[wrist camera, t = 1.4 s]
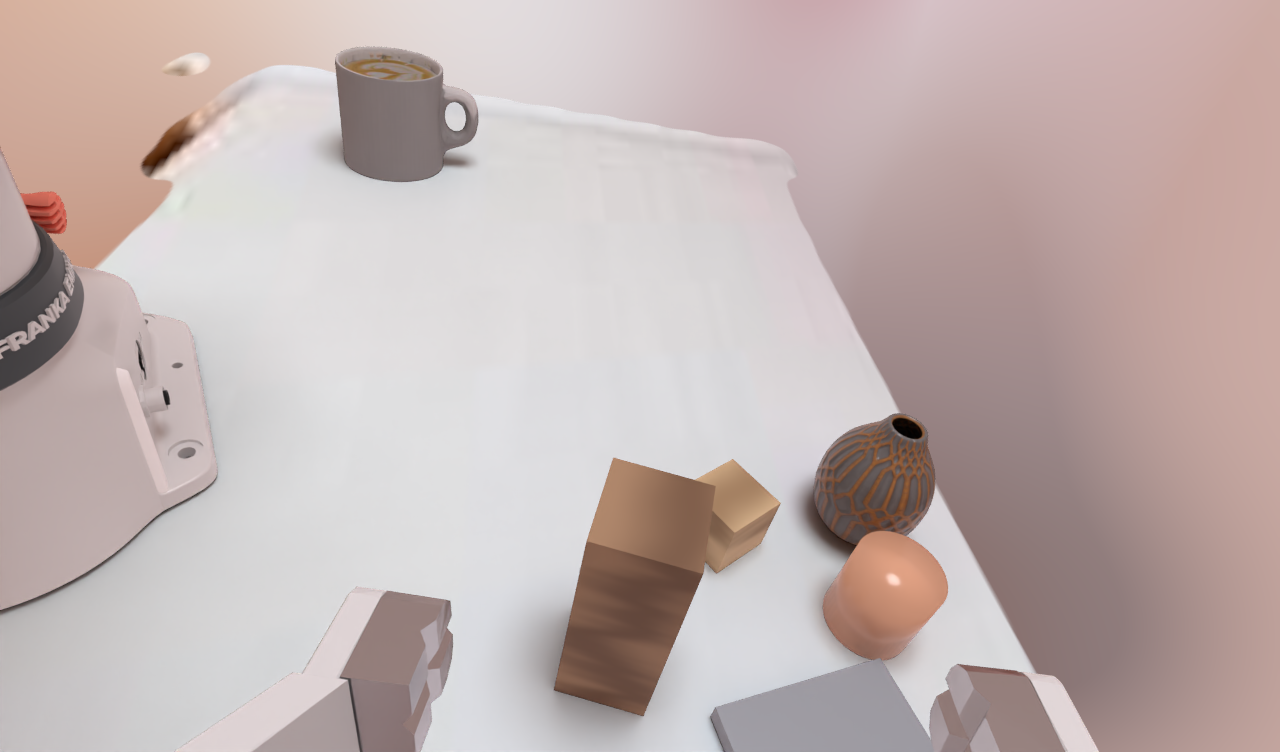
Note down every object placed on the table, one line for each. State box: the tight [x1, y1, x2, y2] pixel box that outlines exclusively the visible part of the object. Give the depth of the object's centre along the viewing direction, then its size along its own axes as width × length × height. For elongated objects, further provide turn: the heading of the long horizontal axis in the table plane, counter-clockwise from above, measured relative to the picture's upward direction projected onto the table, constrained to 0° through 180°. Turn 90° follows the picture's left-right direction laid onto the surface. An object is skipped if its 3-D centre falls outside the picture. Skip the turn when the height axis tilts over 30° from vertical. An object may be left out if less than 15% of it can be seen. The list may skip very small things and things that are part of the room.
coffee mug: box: [335, 47, 478, 182], centre depth 70 cm, size 13×10×10 cm
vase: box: [814, 413, 935, 545], centre depth 42 cm, size 7×7×9 cm
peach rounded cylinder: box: [823, 531, 948, 660], centre depth 38 cm, size 5×5×5 cm
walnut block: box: [554, 458, 716, 716], centre depth 31 cm, size 4×4×12 cm
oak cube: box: [696, 459, 781, 574], centre depth 41 cm, size 4×4×4 cm
